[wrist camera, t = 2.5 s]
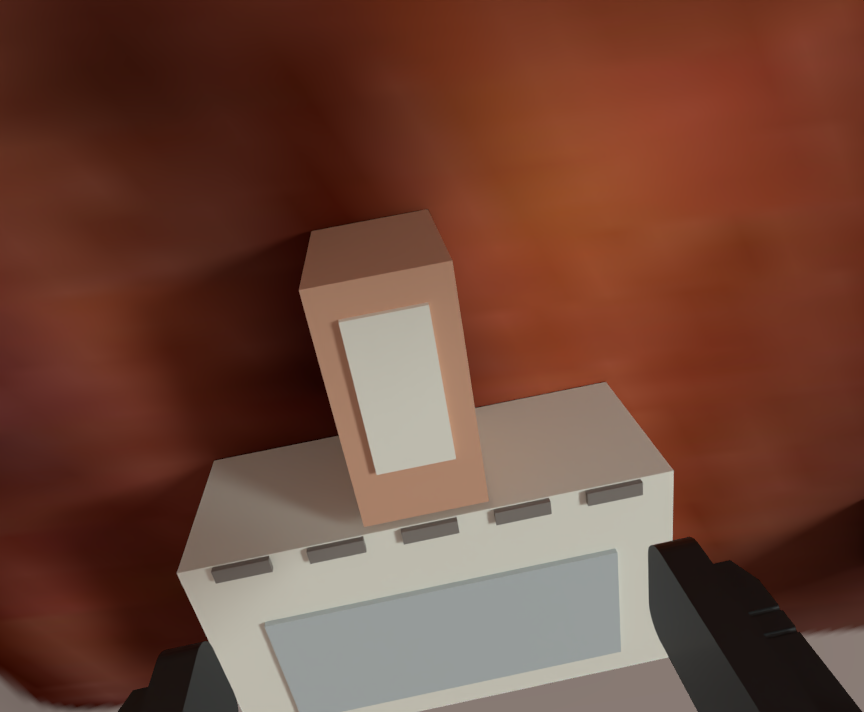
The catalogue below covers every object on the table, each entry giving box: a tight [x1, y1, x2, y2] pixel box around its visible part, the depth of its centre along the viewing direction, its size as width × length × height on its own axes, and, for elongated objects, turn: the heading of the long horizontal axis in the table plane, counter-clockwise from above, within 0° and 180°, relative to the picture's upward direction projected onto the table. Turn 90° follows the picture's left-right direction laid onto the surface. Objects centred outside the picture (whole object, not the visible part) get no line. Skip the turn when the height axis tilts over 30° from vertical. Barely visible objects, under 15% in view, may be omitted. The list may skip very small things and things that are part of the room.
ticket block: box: [177, 382, 674, 712], centre depth 24 cm, size 9×16×6 cm, turn 100°
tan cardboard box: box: [299, 209, 489, 527], centre depth 20 cm, size 8×4×6 cm, turn 10°
